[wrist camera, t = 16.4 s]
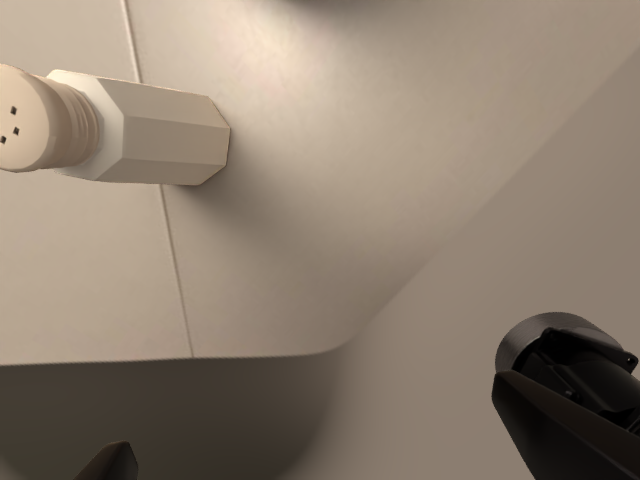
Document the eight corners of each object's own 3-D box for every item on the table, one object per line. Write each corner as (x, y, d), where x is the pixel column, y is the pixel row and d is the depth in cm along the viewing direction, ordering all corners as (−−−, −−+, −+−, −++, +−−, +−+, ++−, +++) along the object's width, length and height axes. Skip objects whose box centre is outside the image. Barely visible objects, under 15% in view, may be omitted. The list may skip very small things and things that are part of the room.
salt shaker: (250, 124, 19) (129, 85, 8) (205, 203, 20) (52, 255, 10) (167, 68, 19) (-69, -47, 8) (127, 152, 20) (-122, 149, 9)
